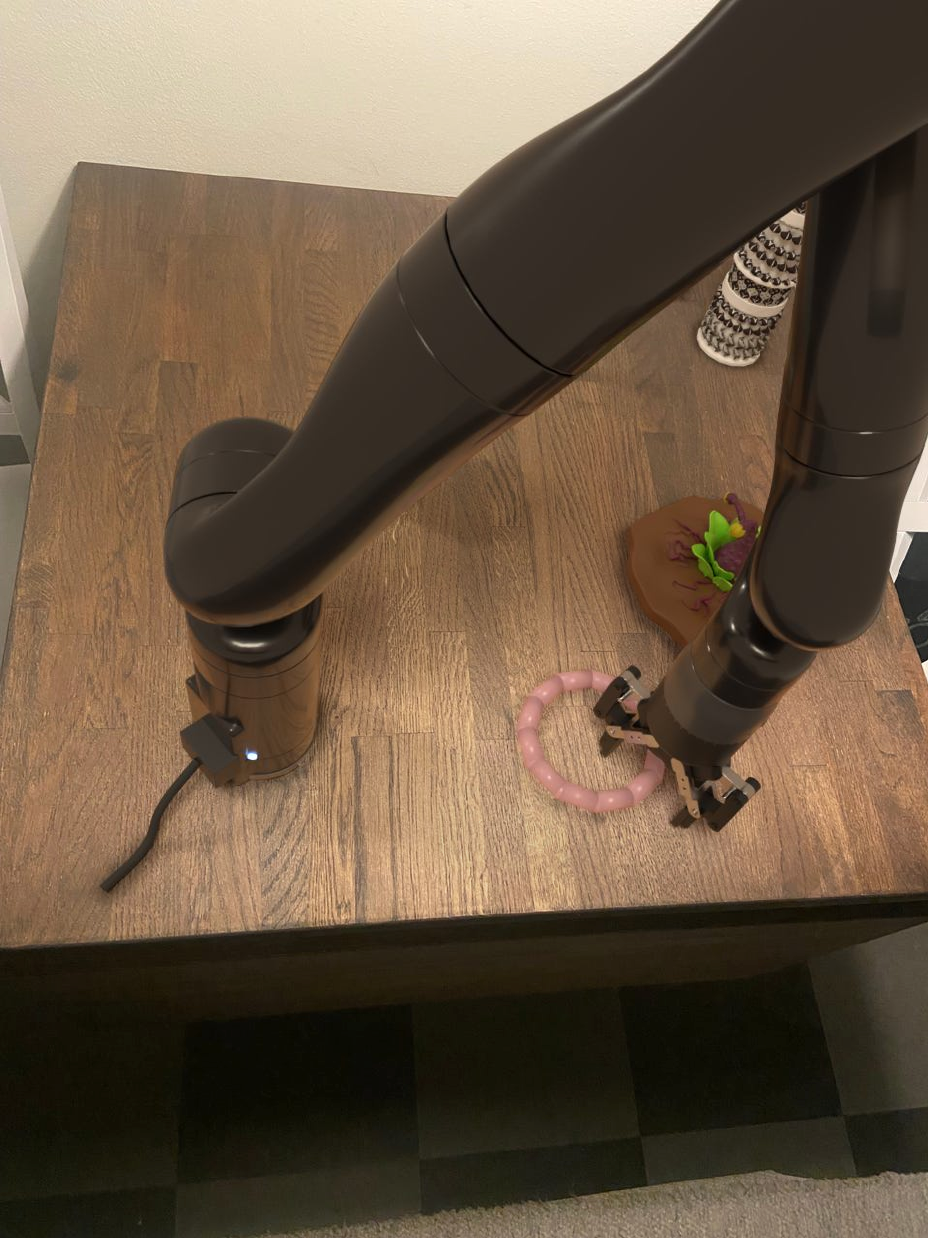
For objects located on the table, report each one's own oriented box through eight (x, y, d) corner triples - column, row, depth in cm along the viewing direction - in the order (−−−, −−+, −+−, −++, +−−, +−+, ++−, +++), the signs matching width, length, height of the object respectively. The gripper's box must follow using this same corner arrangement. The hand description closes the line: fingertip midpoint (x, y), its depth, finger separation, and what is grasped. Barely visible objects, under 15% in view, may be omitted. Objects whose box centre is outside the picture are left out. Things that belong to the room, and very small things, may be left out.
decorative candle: (733, 378, 114) (832, 192, 93) (679, 334, 117) (763, 145, 96) (776, 352, 118) (880, 169, 97) (723, 311, 121) (813, 124, 100)
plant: (590, 531, 96) (623, 458, 87) (740, 493, 103) (785, 421, 94) (685, 690, 87) (733, 628, 78) (842, 637, 94) (903, 574, 85)
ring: (594, 846, 77) (600, 838, 76) (485, 731, 81) (489, 722, 80) (692, 753, 84) (699, 745, 82) (586, 651, 88) (591, 642, 86)
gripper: (610, 655, 67) (557, 750, 80) (762, 798, 62) (678, 873, 76) (673, 604, 70) (612, 702, 84) (821, 735, 66) (732, 817, 79)
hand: (644, 783), depth 80 cm, fingers open, 8 cm apart
